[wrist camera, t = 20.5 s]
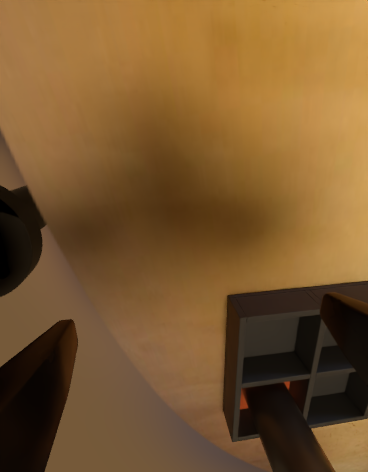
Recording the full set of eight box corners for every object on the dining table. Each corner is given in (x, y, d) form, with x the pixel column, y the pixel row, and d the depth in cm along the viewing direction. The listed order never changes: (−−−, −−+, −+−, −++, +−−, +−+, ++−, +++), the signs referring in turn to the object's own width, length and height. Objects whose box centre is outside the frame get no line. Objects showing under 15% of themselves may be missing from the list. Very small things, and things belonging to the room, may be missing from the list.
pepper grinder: (235, 381, 28) (303, 567, 15) (272, 362, 27) (372, 534, 15) (250, 405, 29) (324, 589, 17) (286, 387, 29) (386, 560, 17)
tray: (222, 409, 30) (232, 442, 27) (227, 295, 24) (239, 318, 21) (345, 390, 32) (367, 419, 29) (374, 280, 26) (406, 299, 23)
